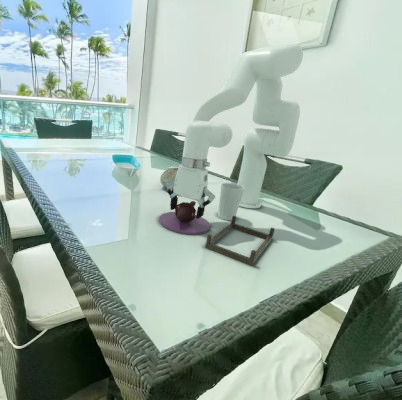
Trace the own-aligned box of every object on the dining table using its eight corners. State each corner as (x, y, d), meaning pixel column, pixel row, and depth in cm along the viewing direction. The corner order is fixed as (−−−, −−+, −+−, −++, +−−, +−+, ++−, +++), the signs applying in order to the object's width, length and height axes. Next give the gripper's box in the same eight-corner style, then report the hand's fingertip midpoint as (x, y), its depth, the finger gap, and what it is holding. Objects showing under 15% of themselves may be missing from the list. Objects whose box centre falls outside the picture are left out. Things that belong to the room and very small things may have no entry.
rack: (230, 226, 94) (233, 215, 92) (272, 239, 86) (275, 228, 85) (204, 247, 78) (207, 234, 77) (252, 266, 70) (255, 252, 69)
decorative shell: (170, 196, 120) (173, 174, 117) (152, 184, 135) (155, 164, 132) (204, 194, 126) (207, 173, 123) (183, 183, 142) (186, 164, 139)
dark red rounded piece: (193, 213, 83) (205, 204, 95) (171, 202, 85) (186, 194, 98) (183, 232, 85) (197, 221, 98) (163, 220, 88) (179, 211, 101)
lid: (175, 210, 104) (175, 208, 104) (217, 224, 94) (218, 222, 94) (149, 222, 92) (149, 220, 91) (195, 240, 82) (195, 237, 81)
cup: (241, 217, 102) (248, 187, 98) (232, 223, 96) (239, 190, 92) (220, 211, 107) (227, 181, 103) (211, 215, 101) (217, 185, 97)
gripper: (224, 167, 84) (214, 218, 89) (175, 157, 94) (169, 203, 100) (214, 170, 78) (204, 224, 84) (164, 159, 88) (158, 208, 94)
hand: (185, 213), depth 92 cm, fingers open, 9 cm apart
